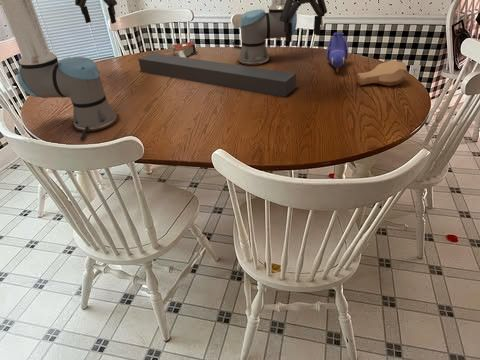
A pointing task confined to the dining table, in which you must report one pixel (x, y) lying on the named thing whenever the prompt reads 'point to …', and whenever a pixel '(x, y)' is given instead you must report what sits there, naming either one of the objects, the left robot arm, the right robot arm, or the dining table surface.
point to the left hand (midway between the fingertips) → (101, 22)
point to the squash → (384, 74)
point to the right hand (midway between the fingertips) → (302, 38)
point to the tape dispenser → (183, 49)
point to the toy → (337, 50)
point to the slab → (220, 74)
